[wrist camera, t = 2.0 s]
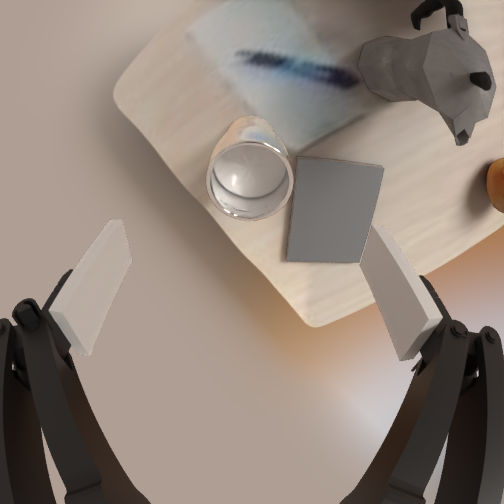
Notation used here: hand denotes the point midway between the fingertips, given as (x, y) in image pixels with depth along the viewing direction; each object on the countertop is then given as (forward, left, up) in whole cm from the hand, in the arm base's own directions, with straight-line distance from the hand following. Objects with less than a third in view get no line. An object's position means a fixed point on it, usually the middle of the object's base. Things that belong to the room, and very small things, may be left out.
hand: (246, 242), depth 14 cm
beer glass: (0, 0, -23) cm, 23 cm away
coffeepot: (-13, +17, -23) cm, 31 cm away
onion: (-1, +43, -23) cm, 49 cm away
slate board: (+10, +12, -23) cm, 27 cm away
